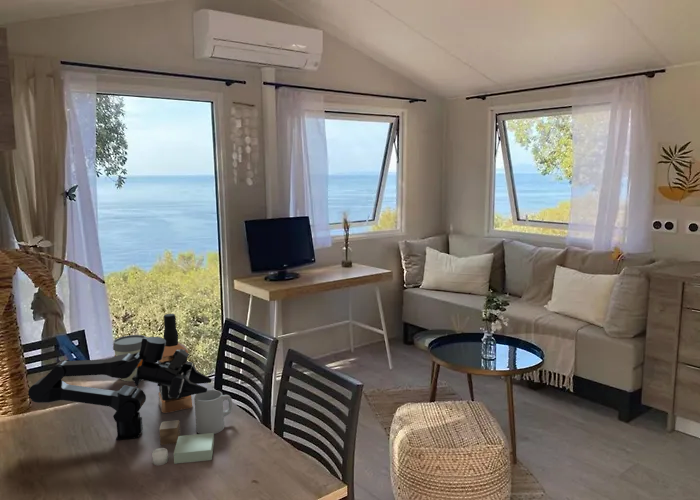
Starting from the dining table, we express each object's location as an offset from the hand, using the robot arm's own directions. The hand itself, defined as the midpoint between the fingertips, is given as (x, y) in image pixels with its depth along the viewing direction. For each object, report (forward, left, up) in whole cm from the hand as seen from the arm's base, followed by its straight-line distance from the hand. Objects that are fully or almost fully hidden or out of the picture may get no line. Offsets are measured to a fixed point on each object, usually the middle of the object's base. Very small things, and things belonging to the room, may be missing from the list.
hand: (209, 385), depth 169 cm
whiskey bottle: (-14, +21, -15) cm, 29 cm away
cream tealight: (-13, -16, -15) cm, 25 cm away
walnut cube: (-12, -4, -15) cm, 19 cm away
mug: (+1, +2, -15) cm, 15 cm away
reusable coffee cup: (-34, +51, -15) cm, 63 cm away
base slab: (-4, -13, -15) cm, 20 cm away
